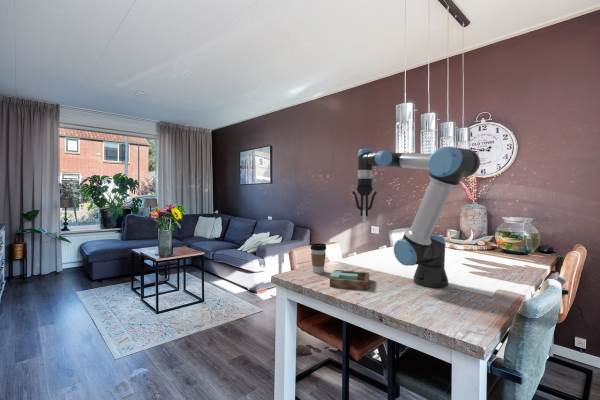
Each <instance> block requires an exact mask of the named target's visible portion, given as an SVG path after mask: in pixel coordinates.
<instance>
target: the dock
mask: <svg viewBox="0 0 600 400" xmlns="http://www.w3.org/2000/svg"><path fill="white" fill-rule="evenodd" d="M334 271H342V273H350V274H358V280H348V279H337V278H330V277H329V288H330V287H332V288H340V289H342V288H343V289H351V290H352V289H354V290H361V291H363V290H364V291H368V289H369V283H370V272H368V271H367V272H366V271H354V270H341V269H335V270H334Z"/></svg>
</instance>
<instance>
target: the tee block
mask: <svg viewBox="0 0 600 400" xmlns="http://www.w3.org/2000/svg"><path fill="white" fill-rule="evenodd" d="M330 278H337V279H348V280H358V274H350V273H342V271H335V270H333V271H332V272H331V274H330V275H329V279H330Z"/></svg>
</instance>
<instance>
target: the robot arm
mask: <svg viewBox="0 0 600 400" xmlns="http://www.w3.org/2000/svg"><path fill="white" fill-rule="evenodd" d="M480 165H481V159H480V156H479V155H478V153H476V152H475V151H474V150H472V149H469V148H463V147H455V146H442V147H439V148H437V149H436V150H434V151H433V152H432V153H420V152H419V153H418V152H417V153H415V152H414V153H413V152H411V153H410V152H393V151H392V152H391V151H389V150H376V151H373V149H372V148H360V149H359V150H358V155H357V178H358V179H357V187H356V189H355V190H353V191H352V194H353V197H354V200H355V204H356V208H357V210H359V211H360V216H361V217H362V223H366V220H367V218H366V217H368V215H369V210H372V208H373V204H374V200H375V196H376V194H378V192H377V191H376V190H374V188H373V179H372V178H373V167H384V168H385V167H388V168H390V167H391V168H401V169H402V168H404V169H416V170H428V171H429V173H428V177H429V179H430V181H429V183H428V186H427V189H426V190H425V194H424V195H423V198H422V201H421V203H420V205H419V208H418V210H417V212H416V215H415V216H414V219H413V221H412V224H411V226H410V229H408V230H406V231H404V233H403V236H402V238H401V239H398V240H396V241H395V242H394V245H393V254H394V257H395V258H396V260H397V261H398V263H400V264H401V265H403V266H405V267H407V266H411V267H412V266H413V267H414V266H416V265H417V267H416V270H415V272H414V275H413V283H415V284H416V285H418V286H421V285H422V287H425V286H426V287H427V288H432V287H443V288H446V287H445V286H447V287H448V286H449V279H448V276H447V271H446V269H445V268H446V267H445V266H446V265H445V263H446V259H445V257H446V239H445V237H444V236H441V235H437V234H436V235H435V234H433V231H434V229H435V227H436V225H437V222H438V220H439V218H440V216H441V214H442V211H443V209H444V207H445V205H446V202H447V200H448V198H449V196H450V194H451V192H452V189H454V188H455V187H458V186H459V185H460V182H461V180H462V178H468V177H472V176H473V175H475V173H477V172H478V170H479V168H480ZM371 194H372V195H371ZM358 195H360V201H359V197H358ZM369 195H371V199H370V203H369ZM364 196H365V209H364Z"/></svg>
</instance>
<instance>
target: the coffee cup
mask: <svg viewBox="0 0 600 400" xmlns="http://www.w3.org/2000/svg"><path fill="white" fill-rule="evenodd" d="M310 251H311V252H310V256H311V269H312V273H314V274H319V275H320V274H323V273H324V272H325V263H326V251H327V244H326V243H323V242H322V243H321V242H319V243H312V244H310Z"/></svg>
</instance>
